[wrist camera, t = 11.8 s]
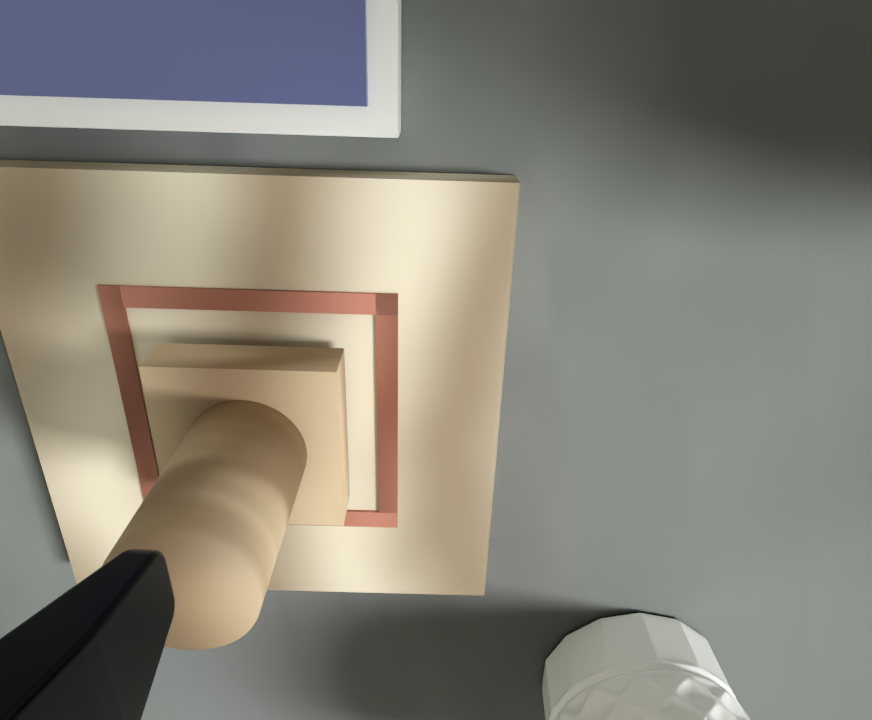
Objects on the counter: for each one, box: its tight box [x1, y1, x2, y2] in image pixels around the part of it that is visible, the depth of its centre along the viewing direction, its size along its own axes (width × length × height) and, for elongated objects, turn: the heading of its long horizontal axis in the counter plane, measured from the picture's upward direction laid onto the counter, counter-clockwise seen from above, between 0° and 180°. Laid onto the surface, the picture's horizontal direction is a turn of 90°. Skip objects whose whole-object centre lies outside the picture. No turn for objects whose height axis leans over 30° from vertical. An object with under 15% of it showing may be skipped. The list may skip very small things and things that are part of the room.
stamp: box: [102, 343, 350, 650], centre depth 16 cm, size 5×5×7 cm
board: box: [0, 159, 520, 596], centre depth 19 cm, size 14×14×1 cm
